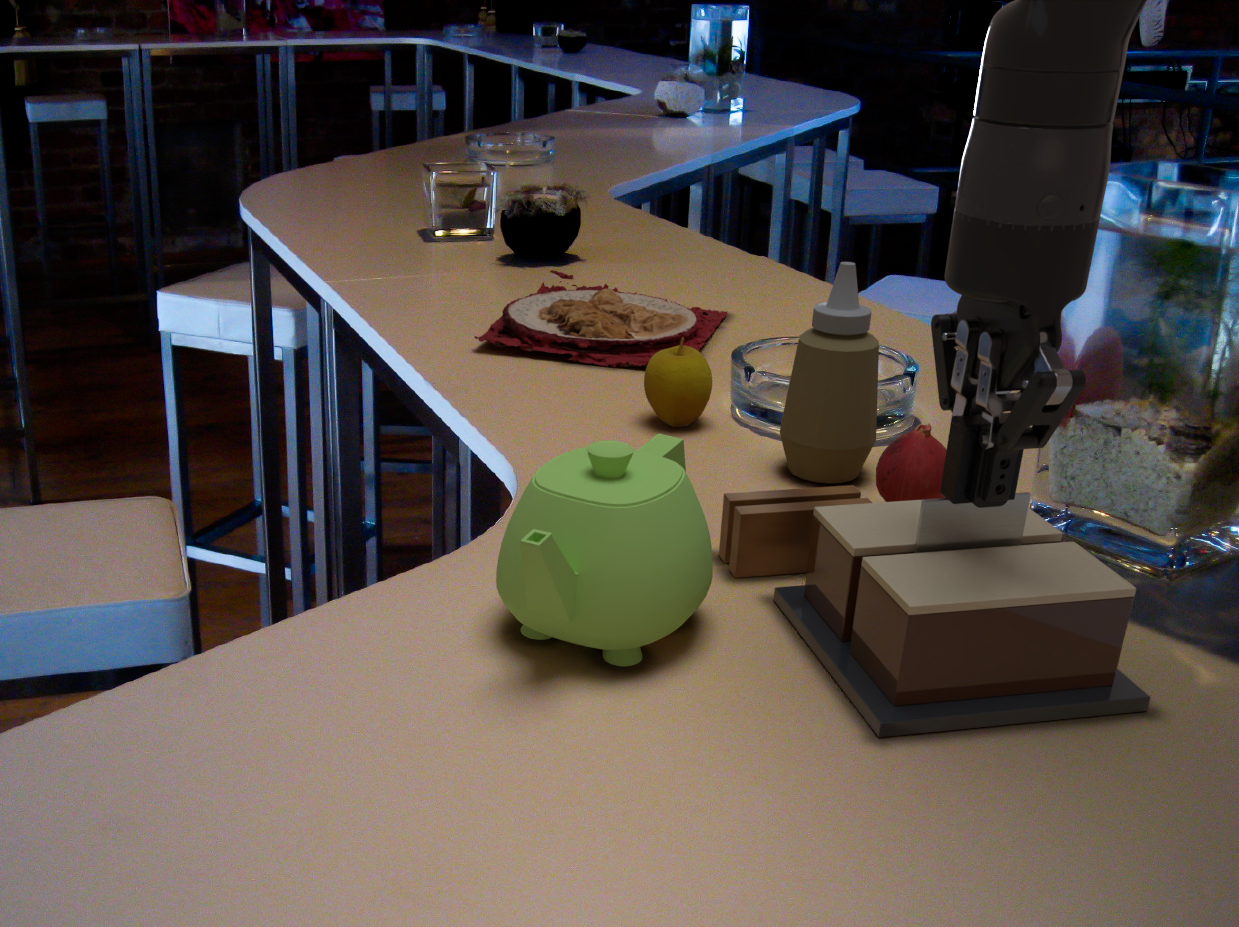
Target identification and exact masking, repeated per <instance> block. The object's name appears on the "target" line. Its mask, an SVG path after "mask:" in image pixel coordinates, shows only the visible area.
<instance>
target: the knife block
mask: <svg viewBox="0 0 1239 927" xmlns="http://www.w3.org/2000/svg"><path fill="white" fill-rule="evenodd" d="M861 496H862V492H861V491H860V490H859V489H858V488H857V487H856V486H855V485H854V484H851V485H835V486H819V487H817V486H816V487H804V488H803V487H802V488H789V489H786V488H785V489H773V490H757V491H740V492H727V493H726V492H725V493H724V494H723V500H722V512H721V523H720V536H719V545H718V546H719V547H718V557H720V559H721V560H722V561H723V563H724V564H729V565H728V569H729V571H730V573H731V574H732V575H733V577H734V578H735V579H737V578H738V579H739V578H751V577H752V578H753V577H764V576H766V577H767V576H777V575H778V576H779V575H790V574H791V575H793V574H806V573H807V565H808V556H809V548H810V539H811V531H812V522H813V516H814V515H813V513H814V507H821V506H836V505H851V504H866V503H873V501H872V500H870V498H868V497H861Z"/></svg>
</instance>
